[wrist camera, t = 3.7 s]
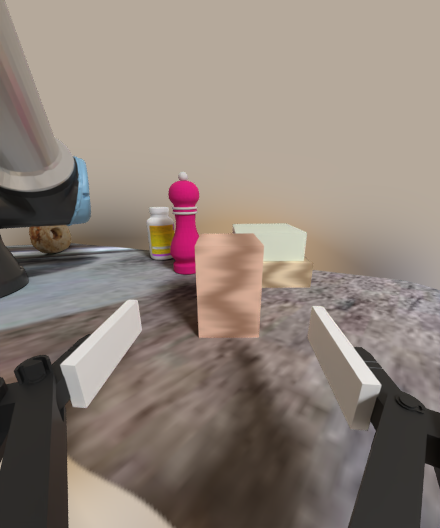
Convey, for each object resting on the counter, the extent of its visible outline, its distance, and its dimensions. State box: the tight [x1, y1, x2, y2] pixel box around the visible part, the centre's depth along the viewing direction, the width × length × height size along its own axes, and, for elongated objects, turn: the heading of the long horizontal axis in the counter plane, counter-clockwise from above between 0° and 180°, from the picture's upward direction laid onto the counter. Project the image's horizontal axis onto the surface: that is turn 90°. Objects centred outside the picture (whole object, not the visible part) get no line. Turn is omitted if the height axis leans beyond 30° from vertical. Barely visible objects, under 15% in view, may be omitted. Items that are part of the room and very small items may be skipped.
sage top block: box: [233, 224, 307, 261], centre depth 42 cm, size 12×12×5 cm
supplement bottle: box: [147, 207, 174, 260], centre depth 55 cm, size 7×7×13 cm
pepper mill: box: [169, 172, 199, 274], centre depth 44 cm, size 7×7×20 cm
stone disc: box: [29, 225, 71, 254], centre depth 61 cm, size 10×4×10 cm, turn 167°
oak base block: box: [262, 256, 313, 288], centre depth 44 cm, size 14×14×5 cm
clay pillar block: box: [195, 233, 264, 338], centre depth 26 cm, size 7×7×11 cm
